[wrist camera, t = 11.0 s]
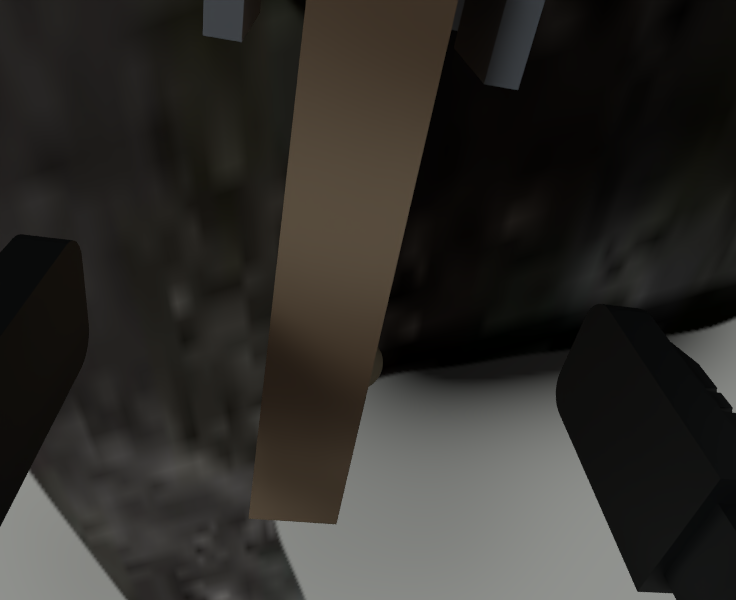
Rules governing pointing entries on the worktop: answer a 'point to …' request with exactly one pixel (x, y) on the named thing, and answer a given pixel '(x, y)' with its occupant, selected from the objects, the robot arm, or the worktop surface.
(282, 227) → the walnut door
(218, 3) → the slate cabinet
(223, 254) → the worktop surface
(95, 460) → the worktop surface
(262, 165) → the worktop surface
